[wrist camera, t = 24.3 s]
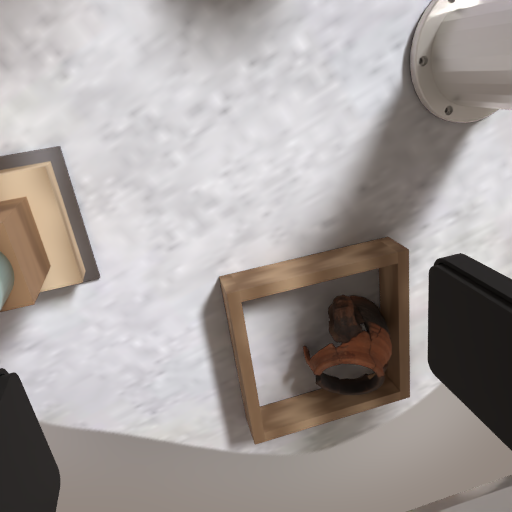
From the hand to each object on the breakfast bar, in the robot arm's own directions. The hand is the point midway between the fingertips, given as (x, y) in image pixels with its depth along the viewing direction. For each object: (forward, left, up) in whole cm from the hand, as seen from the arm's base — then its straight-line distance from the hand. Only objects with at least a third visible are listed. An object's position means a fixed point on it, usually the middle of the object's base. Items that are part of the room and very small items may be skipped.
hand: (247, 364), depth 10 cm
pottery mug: (-15, +22, -33) cm, 42 cm away
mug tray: (-12, +22, -32) cm, 41 cm away
